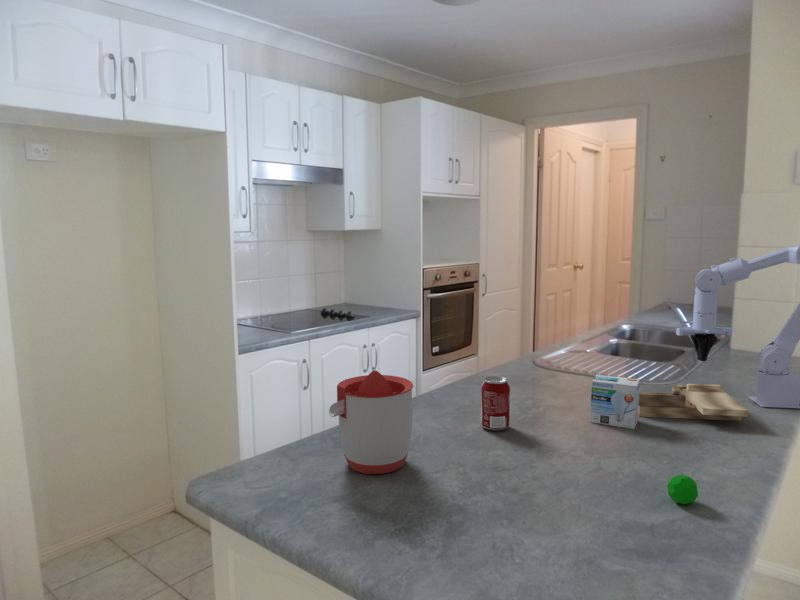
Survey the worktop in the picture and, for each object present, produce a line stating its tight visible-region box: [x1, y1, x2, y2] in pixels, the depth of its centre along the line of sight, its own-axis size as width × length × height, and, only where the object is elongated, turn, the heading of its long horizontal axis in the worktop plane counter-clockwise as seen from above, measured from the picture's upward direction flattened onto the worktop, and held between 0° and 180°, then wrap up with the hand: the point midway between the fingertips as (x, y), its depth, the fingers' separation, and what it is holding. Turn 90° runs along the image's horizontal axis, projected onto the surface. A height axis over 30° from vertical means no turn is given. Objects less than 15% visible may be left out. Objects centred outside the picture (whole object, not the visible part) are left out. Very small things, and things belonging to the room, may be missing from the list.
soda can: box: [480, 375, 511, 432], centre depth 141 cm, size 7×7×12 cm
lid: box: [682, 383, 749, 417], centre depth 147 cm, size 10×16×3 cm, turn 171°
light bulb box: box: [589, 374, 641, 430], centre depth 144 cm, size 11×7×11 cm, turn 62°
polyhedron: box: [666, 474, 699, 505], centre depth 104 cm, size 5×5×5 cm
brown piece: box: [638, 384, 743, 422], centre depth 156 cm, size 24×19×3 cm
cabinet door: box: [639, 391, 686, 408], centre depth 148 cm, size 11×2×4 cm, turn 81°
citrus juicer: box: [328, 370, 414, 475], centre depth 120 cm, size 16×17×20 cm
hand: (701, 360), depth 164 cm, fingers closed
